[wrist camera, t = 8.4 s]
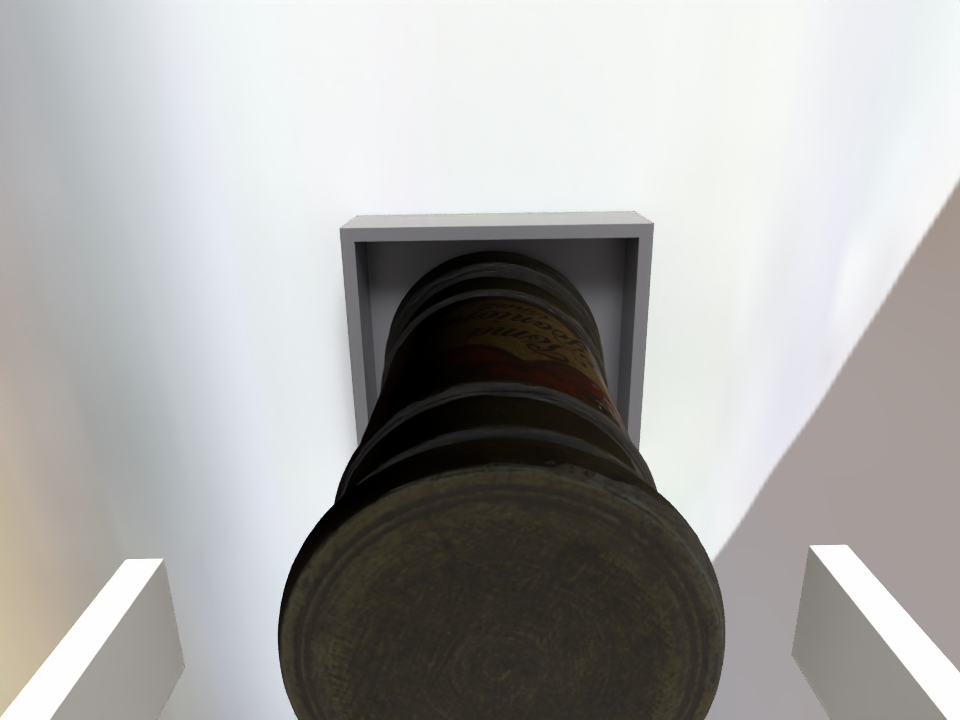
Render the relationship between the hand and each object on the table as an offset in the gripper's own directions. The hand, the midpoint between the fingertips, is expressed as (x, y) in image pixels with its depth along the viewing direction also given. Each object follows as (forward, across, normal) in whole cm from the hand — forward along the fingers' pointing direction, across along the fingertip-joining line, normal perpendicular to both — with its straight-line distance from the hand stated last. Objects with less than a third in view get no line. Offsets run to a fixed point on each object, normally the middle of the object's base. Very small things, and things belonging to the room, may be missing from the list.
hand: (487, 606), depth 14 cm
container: (+16, +1, 0) cm, 16 cm away
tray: (+17, +1, 0) cm, 17 cm away
